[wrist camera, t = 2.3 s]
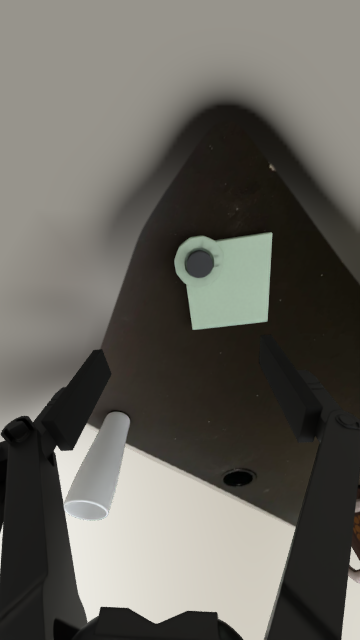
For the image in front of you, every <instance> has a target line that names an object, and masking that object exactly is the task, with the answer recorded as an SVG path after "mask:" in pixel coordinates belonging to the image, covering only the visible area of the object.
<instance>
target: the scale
mask: <svg viewBox="0 0 360 640" xmlns="http://www.w3.org/2000/svg"><path fill="white" fill-rule="evenodd" d="M271 247H272V233H270V232H266V233H260V234H253V235H247V236H241V237H234V238H228V239H222V240H215V241H214V240H212V239H210V238H208V237H205V236H202V235H201V236H195V237H190V238H188V239H187V240H186V241H185V242H183V243H182V244H181V245H180V246H179V248H178V251H177V254H176V256H175V259H174V263H175V269H176V273H177V275H178V276H179V277H180V279H181V280H182V281H183V282H184V283H185V284H186V287H187V294H188V301H189V308H190V315H191V322H192V329H193V330H196V329H205V328H214V327H223V326H232V325H241V324H250V323H259V322H267V320H268V302H269V284H270V266H271ZM196 250H203V251H205V252H207V253H208V254H209V255H210V257H211V259H212V262H213V267H212V270H211V272H210V273H209V274H208V275H207V276H206V277H203V278H195V277H193V276H192V275H190V274H189V272H188V270H187V259H188V257H189V255H190V254H191V253H192V252H194V251H196Z"/></svg>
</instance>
